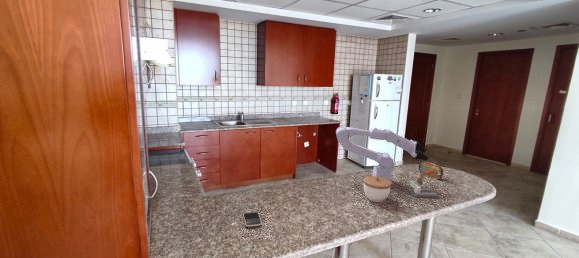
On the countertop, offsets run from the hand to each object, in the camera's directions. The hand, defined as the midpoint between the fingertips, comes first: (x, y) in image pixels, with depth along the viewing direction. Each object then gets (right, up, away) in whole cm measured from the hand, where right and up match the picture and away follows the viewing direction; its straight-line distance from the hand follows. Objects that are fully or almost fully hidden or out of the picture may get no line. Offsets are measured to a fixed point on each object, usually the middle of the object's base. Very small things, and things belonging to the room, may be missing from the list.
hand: (426, 155), depth 146 cm
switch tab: (-10, -18, -11) cm, 23 cm away
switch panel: (-7, -19, -10) cm, 23 cm away
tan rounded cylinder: (-5, -17, -2) cm, 18 cm away
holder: (-5, -18, -2) cm, 19 cm away
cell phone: (-89, -23, -39) cm, 100 cm away
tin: (+11, -15, +17) cm, 25 cm away
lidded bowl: (-33, -20, -16) cm, 41 cm away
